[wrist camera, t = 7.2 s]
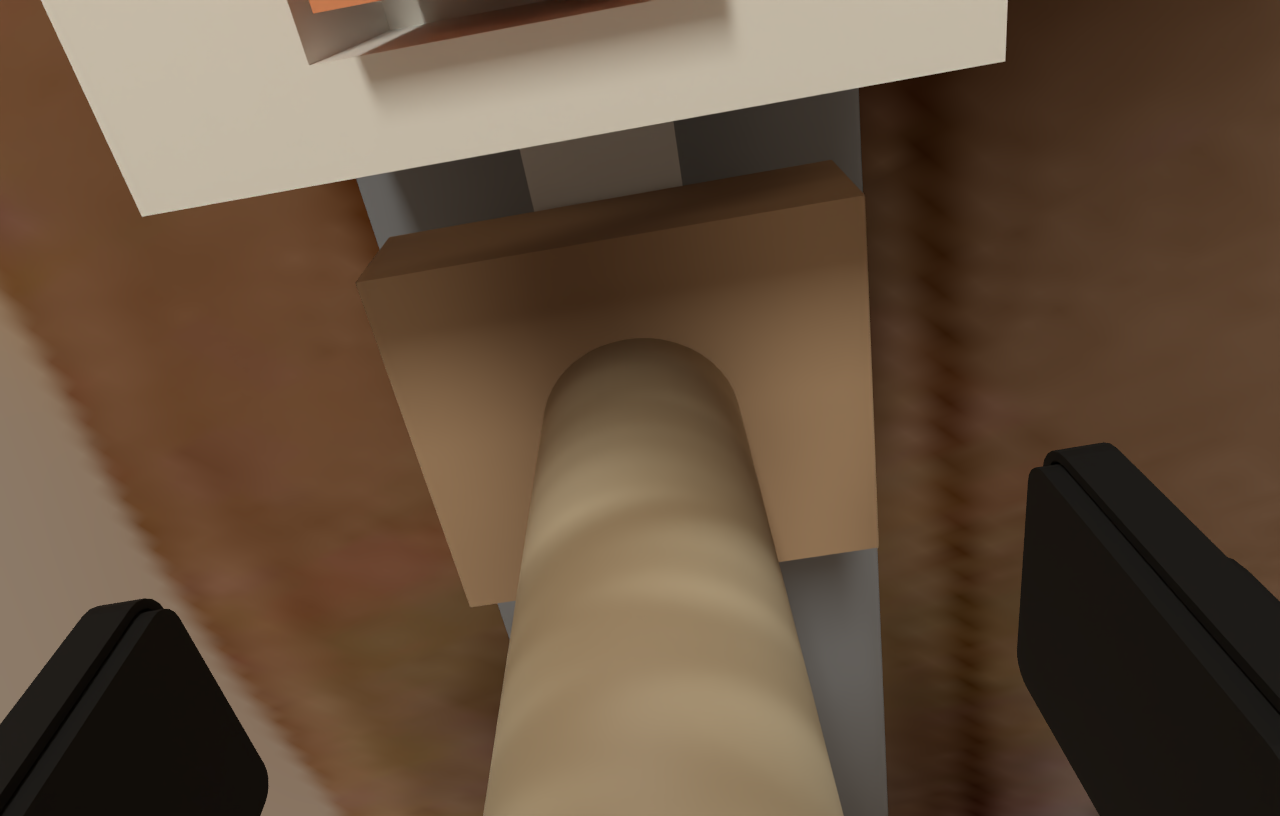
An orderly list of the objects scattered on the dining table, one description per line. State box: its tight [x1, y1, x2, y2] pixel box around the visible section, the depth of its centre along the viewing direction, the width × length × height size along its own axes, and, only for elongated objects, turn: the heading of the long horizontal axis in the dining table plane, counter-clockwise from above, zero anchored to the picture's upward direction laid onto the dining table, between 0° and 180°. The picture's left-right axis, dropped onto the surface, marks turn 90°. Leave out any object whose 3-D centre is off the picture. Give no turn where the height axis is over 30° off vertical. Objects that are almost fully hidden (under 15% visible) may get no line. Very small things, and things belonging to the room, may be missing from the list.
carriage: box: [356, 160, 879, 816], centre depth 10 cm, size 7×6×10 cm
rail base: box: [41, 0, 1008, 816], centre depth 17 cm, size 9×36×9 cm, turn 10°
